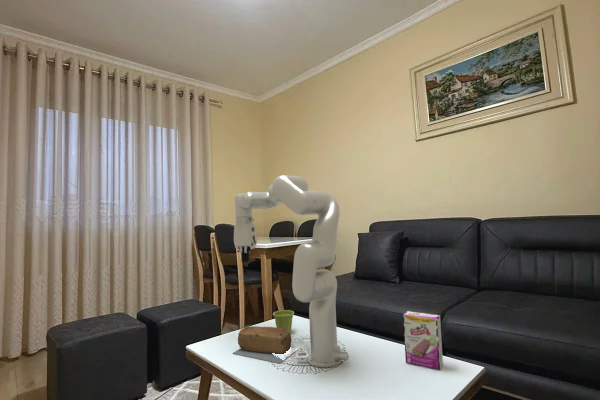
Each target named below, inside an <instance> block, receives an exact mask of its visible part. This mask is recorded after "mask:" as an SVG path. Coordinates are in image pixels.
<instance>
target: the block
mask: <svg viewBox="0 0 600 400" xmlns="http://www.w3.org/2000/svg"><path fill="white" fill-rule="evenodd" d="M291 333H292V332H291ZM291 333H290V332H289V331H288V330H286V329H283V328H277V327H276V326H252V325H251V326H245V327H243V328H242V329H240V330H239V332H238V335H237V344H238V346H239V349H240V348H242V349H244V350H248V351H255V352H263V353H275V354H284V353H286V351H288V350H289V349H290V347H292V334H291Z"/></svg>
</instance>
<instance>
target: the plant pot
mask: <svg viewBox="0 0 600 400" xmlns="http://www.w3.org/2000/svg"><path fill="white" fill-rule="evenodd" d="M294 314H295V312H294V311H293V310H290V309H288V310H287V309H285V310H284V309H283V310H277V311H274V312H273V313H272V316H273V318H274V320H275V327H276V328H283V329H286V330H288V331H289V332H290V333H292V326H293V317H294Z"/></svg>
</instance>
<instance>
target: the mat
mask: <svg viewBox="0 0 600 400" xmlns="http://www.w3.org/2000/svg"><path fill="white" fill-rule="evenodd" d="M232 355H236V356H241V357H246V358H250V359H255V360H260V361H265V362H269V363H270V362H271V363H275V364H278V365H281V364H282V363H283V362H284V361H283V360H282V359H280V358H279V357H278V356H277V357H278V358H277V357H276V356H274V355H273V354H272V353H263V352H255V351H248V350H244V349H242V348H240V347H239V349H237V350H235V351H234V352H232ZM282 361H283V362H282Z"/></svg>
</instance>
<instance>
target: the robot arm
mask: <svg viewBox="0 0 600 400" xmlns="http://www.w3.org/2000/svg"><path fill="white" fill-rule="evenodd" d="M234 204H235V205H234V208H235V212H234V213H235V224H234V228H233V243H234V248H235V249H236V250H238V251H239V252H240V253H239V254H241V262H242V263H248V262H249V261H250V253H251V250H253V249H256V245H257V243H258V240H257V239H258V238H257V230H256V226H255V223H253V221H255V218H254V217H253V210H265V209H271V208H275V207H278V206H280V205H281V204H283V205H285V206H286V207H287V208H288V209H289V210H290V211H291V212H293V213H295V214H296V215H300V216H309V215H310V216H311V215H317V216H318V217H317V218H316V220H315V223H314V225H313V230H312V239H311V241H306V242H302V243H300V245H299V246H298V247H297V248H296V250H295V253H294V257H293V269H292V284H291V285H292V286H291V287H292V292H293V295H294V297H295V298H296V300H297V301H298V302H301V303H309V307H308V311H309V312H308V313H309V314H308V317H309V318H308V319H309V339H310V353H311V354H310V355H309V356H306V362H307V361H308V362H309V363H308V362H307V363H308V364H309V365H310V366H313V367H317V368H331V367H335V366H338V365H340V364H341V363H342V362H343V361H348V360H349V357H350V356H349V353H348V351H345V350H341V345H338V334H337V333H338V332H337V313H336V312H337V311H336V309H337V308H336V305H337V303H336V301H337V300H336V299H337V290H338V280H337V278H336V276H335V274H334V273H333V272H332V271H331V270H329V269H327V268H326V269H324V268H325V267H329V266H331V265H332V264H334V262H335V259H336V252H337V251H336V250H337V249H336V248H337V237H338V227H339V221H340V220H339V219H340V205H339V203H338V201H337V200H336V197H334V196H333V195H331V194H330V193H328V192H325V191H318V190H309V184H308V182H307V181H306V179H305V178H303V177H301V176H299V175H298V176H297V175H286V174H283V175H279V176H277V177H275V179H274V180H273V182H272V184H271V185H269V187H268V190H267V191H265V192H264V191H263V192H262V191H246V192H243V193H237V194H235V197H234Z"/></svg>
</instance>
